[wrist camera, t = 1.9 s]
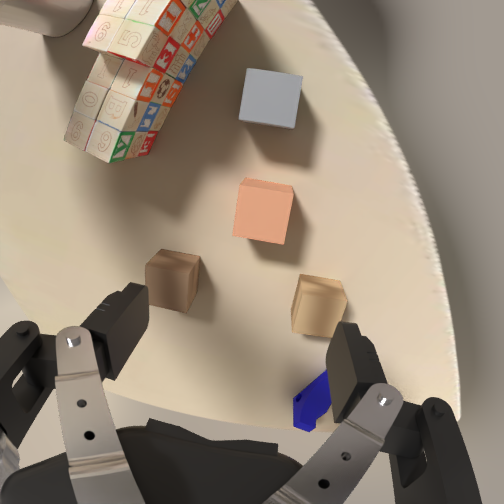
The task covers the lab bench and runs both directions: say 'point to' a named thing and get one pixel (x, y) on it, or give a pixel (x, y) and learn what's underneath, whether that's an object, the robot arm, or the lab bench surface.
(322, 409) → the blue cradle bracket
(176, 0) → the stack of blocks
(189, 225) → the lab bench surface
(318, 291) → the oak block
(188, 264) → the tan block
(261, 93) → the gray block
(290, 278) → the lab bench surface
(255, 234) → the terracotta block
